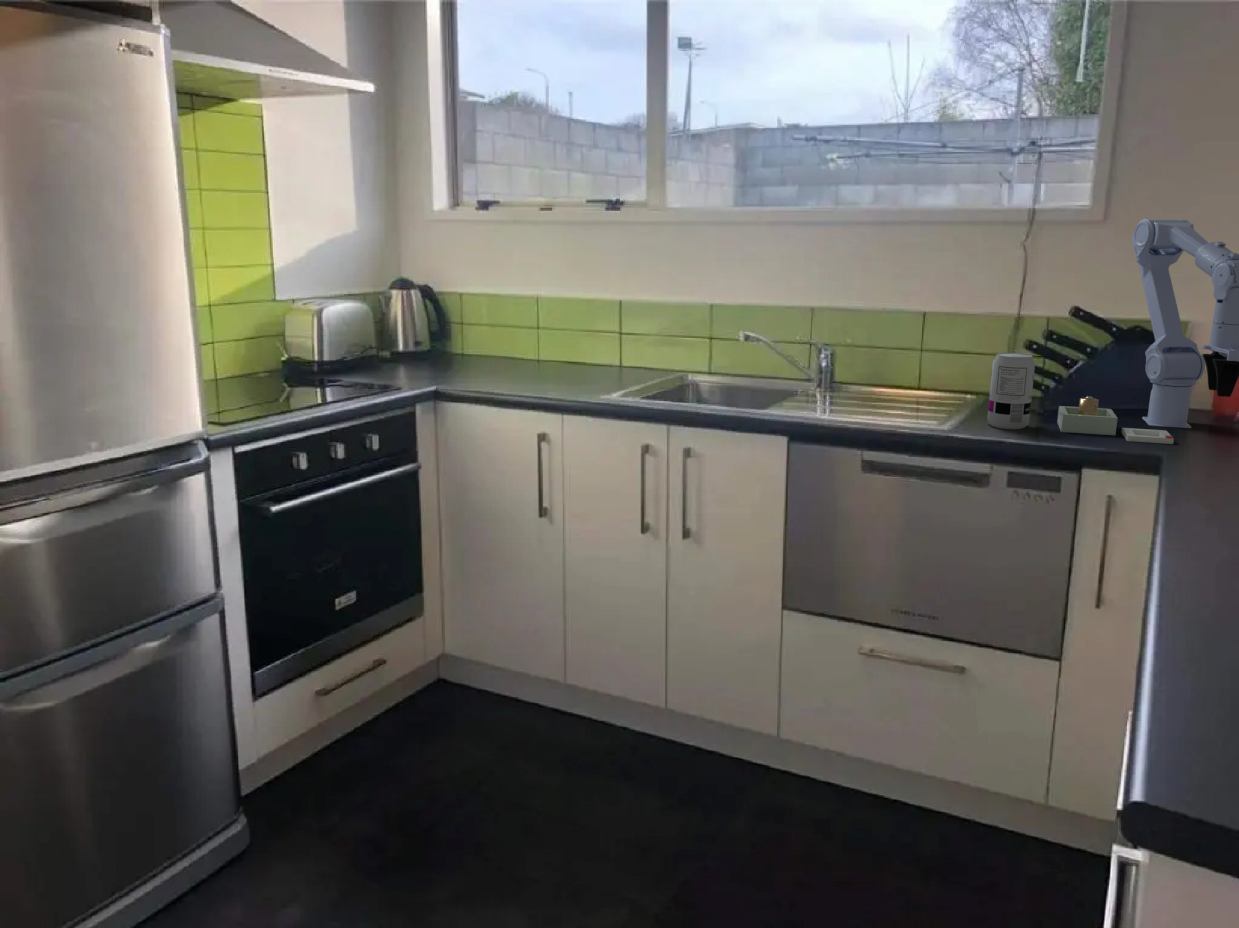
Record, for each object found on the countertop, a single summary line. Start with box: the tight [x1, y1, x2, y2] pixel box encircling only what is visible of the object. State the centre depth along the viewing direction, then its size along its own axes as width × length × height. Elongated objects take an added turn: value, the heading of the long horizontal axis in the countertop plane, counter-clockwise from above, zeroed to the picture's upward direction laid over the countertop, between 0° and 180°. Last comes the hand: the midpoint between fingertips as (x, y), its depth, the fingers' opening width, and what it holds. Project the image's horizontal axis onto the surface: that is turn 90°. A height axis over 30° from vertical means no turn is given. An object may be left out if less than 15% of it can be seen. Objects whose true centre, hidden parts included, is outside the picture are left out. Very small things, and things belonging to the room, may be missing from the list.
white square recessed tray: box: [1121, 427, 1175, 445], centre depth 199 cm, size 8×8×2 cm
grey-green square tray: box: [1056, 405, 1118, 436], centre depth 207 cm, size 10×10×4 cm
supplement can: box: [986, 352, 1036, 430], centre depth 210 cm, size 8×8×15 cm
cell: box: [1078, 396, 1100, 416], centre depth 207 cm, size 4×4×6 cm
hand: (1219, 393), depth 197 cm, fingers open, 7 cm apart
